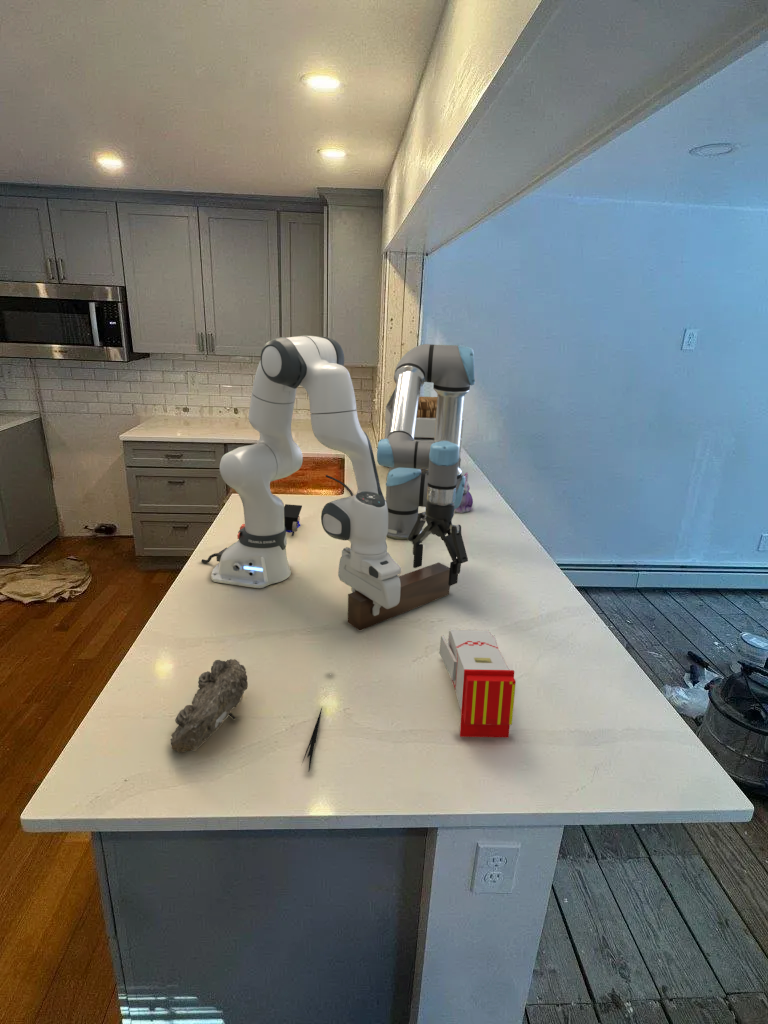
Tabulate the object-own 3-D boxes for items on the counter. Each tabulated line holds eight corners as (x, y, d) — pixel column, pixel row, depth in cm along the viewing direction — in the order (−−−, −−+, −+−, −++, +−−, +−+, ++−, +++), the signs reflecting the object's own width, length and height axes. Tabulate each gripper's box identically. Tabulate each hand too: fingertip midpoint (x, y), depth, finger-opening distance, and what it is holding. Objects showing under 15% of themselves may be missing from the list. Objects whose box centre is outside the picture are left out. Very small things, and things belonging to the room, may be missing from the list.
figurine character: (298, 542, 192) (303, 521, 206) (297, 522, 189) (302, 503, 202) (278, 541, 192) (284, 521, 205) (277, 521, 189) (283, 502, 202)
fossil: (195, 660, 117) (247, 628, 112) (227, 691, 120) (279, 661, 115) (146, 746, 98) (206, 711, 93) (185, 779, 101) (245, 748, 96)
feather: (331, 679, 122) (336, 673, 122) (307, 777, 96) (313, 769, 95) (324, 675, 122) (329, 669, 121) (298, 772, 95) (304, 764, 95)
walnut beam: (347, 622, 143) (348, 594, 140) (436, 587, 162) (438, 562, 160) (359, 631, 139) (360, 602, 136) (449, 594, 159) (451, 568, 156)
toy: (489, 613, 130) (525, 677, 101) (485, 667, 133) (518, 744, 104) (437, 612, 130) (457, 676, 101) (434, 666, 133) (453, 743, 103)
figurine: (459, 514, 221) (463, 477, 216) (445, 506, 229) (448, 470, 224) (479, 511, 225) (483, 475, 220) (464, 503, 234) (467, 468, 228)
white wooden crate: (381, 463, 289) (385, 382, 275) (444, 464, 292) (450, 384, 279) (389, 482, 257) (393, 392, 243) (459, 483, 261) (467, 394, 247)
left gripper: (332, 547, 143) (332, 596, 147) (385, 577, 128) (383, 630, 133) (352, 542, 147) (351, 589, 151) (406, 570, 132) (402, 621, 137)
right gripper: (398, 492, 155) (394, 563, 162) (466, 517, 138) (459, 595, 145) (417, 487, 160) (413, 557, 167) (486, 511, 142) (478, 588, 149)
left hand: (366, 609), depth 142 cm, fingers closed on walnut beam, 5 cm apart
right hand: (434, 575), depth 156 cm, fingers open, 13 cm apart
